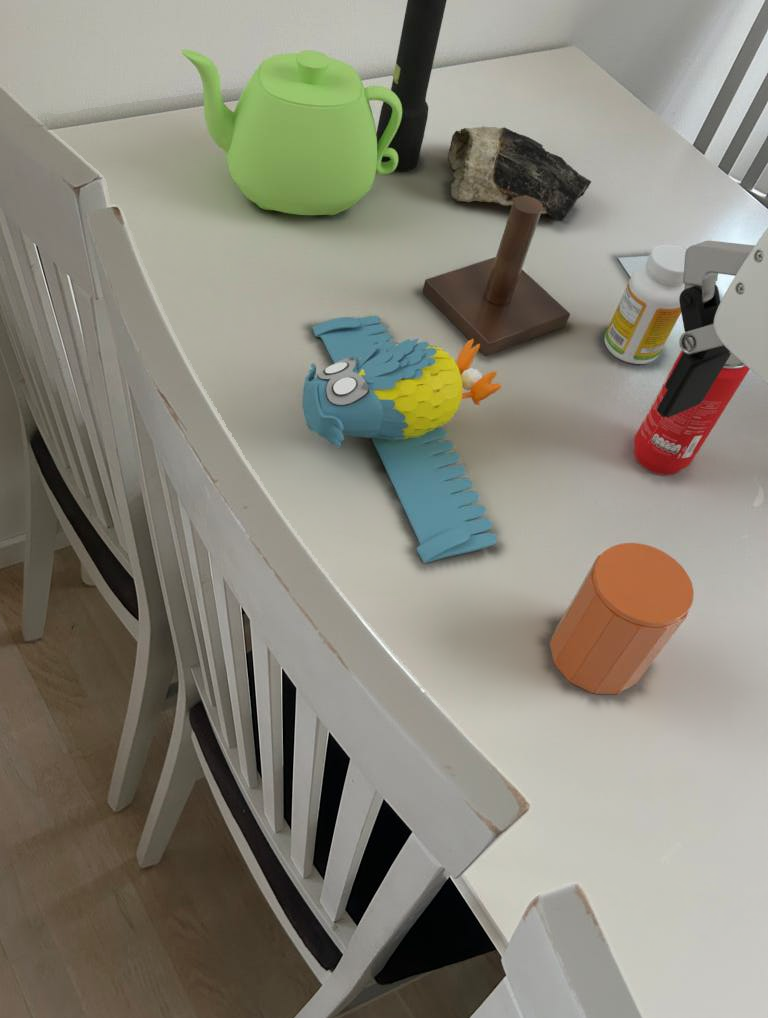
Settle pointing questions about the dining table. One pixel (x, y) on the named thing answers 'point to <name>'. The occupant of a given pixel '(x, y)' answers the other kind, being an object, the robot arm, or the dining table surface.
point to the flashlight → (413, 79)
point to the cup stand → (500, 290)
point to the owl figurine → (404, 423)
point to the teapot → (301, 132)
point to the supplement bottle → (648, 307)
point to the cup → (621, 618)
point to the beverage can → (684, 424)
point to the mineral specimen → (511, 171)
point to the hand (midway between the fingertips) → (738, 463)
